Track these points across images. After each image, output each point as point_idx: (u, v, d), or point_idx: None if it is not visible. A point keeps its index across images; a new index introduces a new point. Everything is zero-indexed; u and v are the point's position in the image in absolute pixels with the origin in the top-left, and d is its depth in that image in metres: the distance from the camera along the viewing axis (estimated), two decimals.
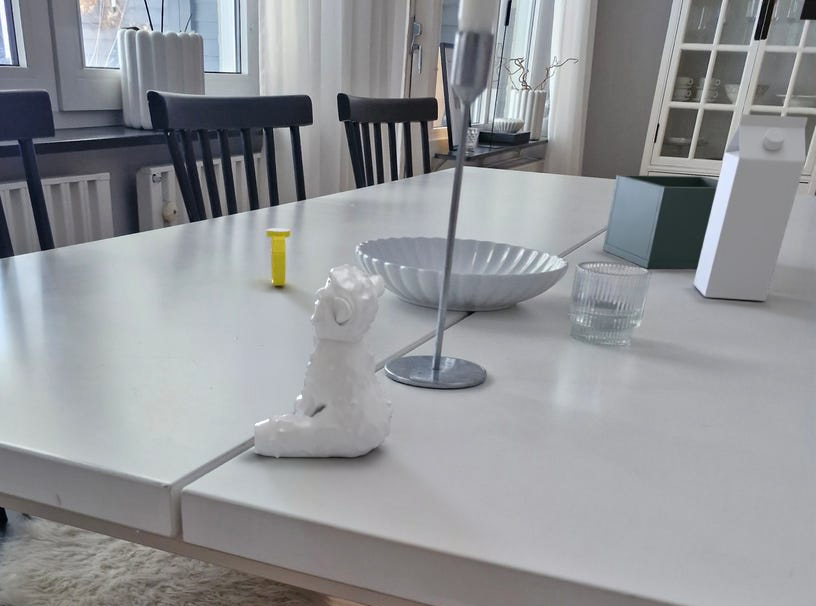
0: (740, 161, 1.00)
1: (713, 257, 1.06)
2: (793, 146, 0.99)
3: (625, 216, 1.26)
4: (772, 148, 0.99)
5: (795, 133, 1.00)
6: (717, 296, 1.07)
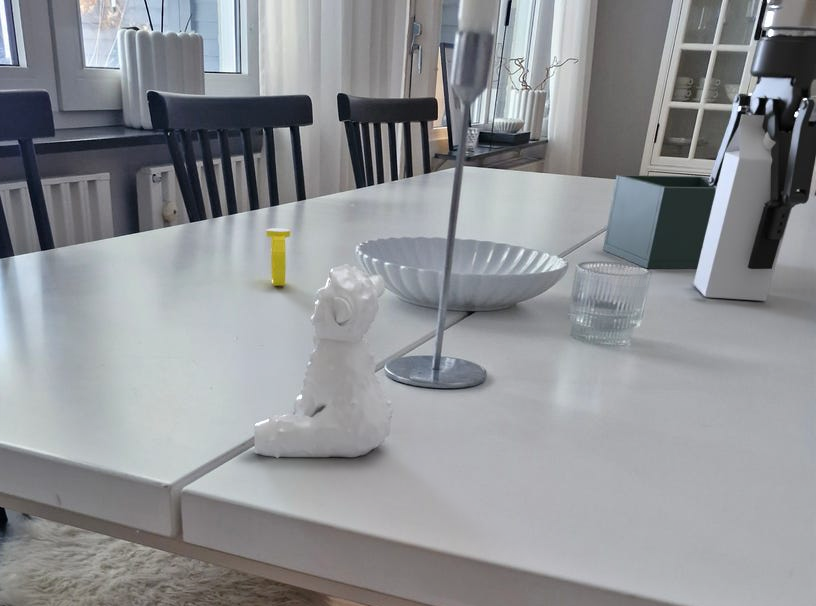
0: (740, 161, 1.00)
1: (713, 257, 1.06)
2: None
3: (625, 216, 1.26)
4: None
5: None
6: (717, 296, 1.07)
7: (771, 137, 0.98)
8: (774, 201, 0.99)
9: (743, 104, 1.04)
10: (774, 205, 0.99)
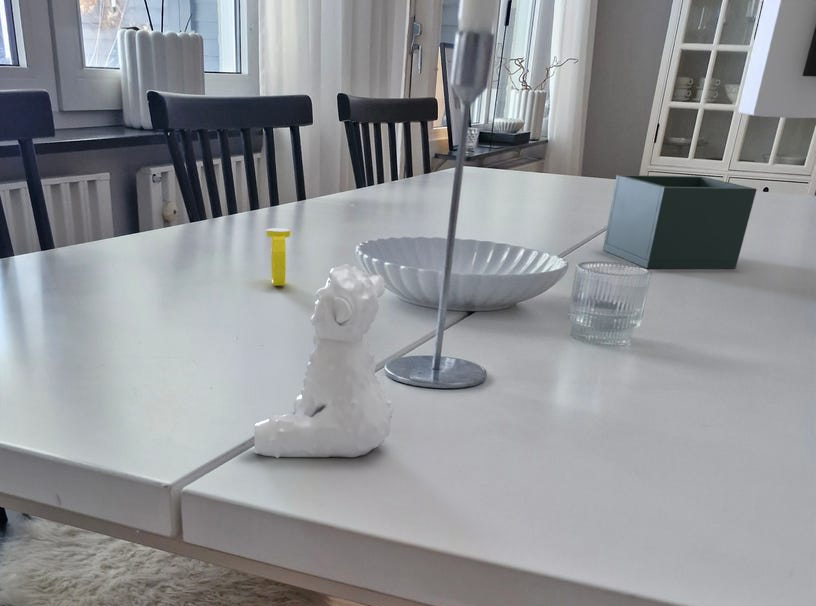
0: None
1: (763, 67, 0.95)
2: None
3: (625, 216, 1.26)
4: None
5: None
6: (767, 114, 0.97)
7: None
8: None
9: None
10: None
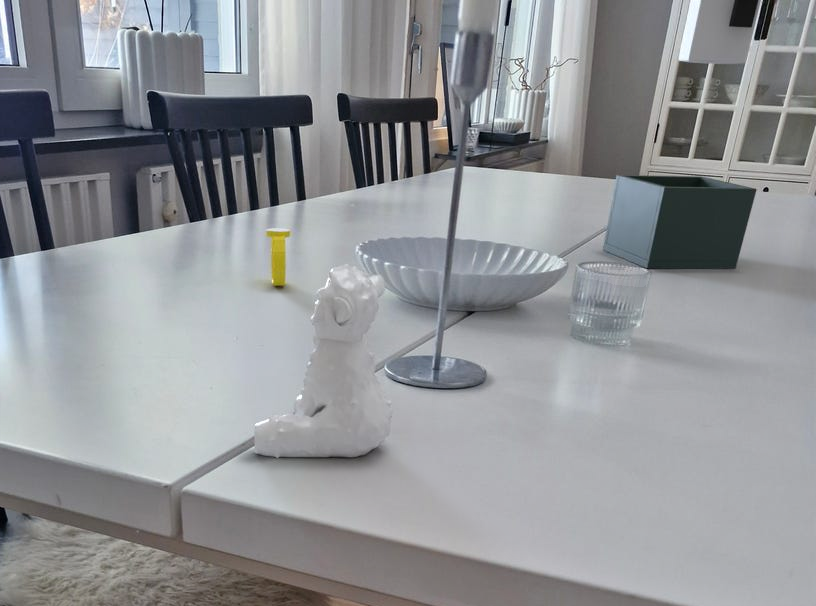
0: None
1: (696, 19, 1.11)
2: None
3: (625, 216, 1.26)
4: None
5: None
6: (700, 59, 1.13)
7: None
8: None
9: None
10: None
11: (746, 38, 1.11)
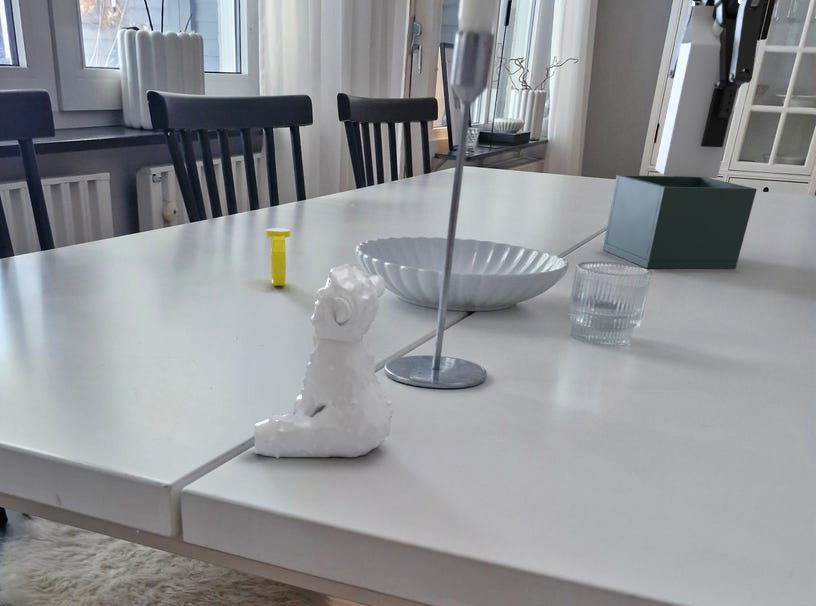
0: (692, 47, 1.12)
1: (670, 137, 1.18)
2: None
3: (625, 216, 1.26)
4: None
5: None
6: (674, 174, 1.20)
7: (719, 24, 1.11)
8: (722, 81, 1.12)
9: (697, 0, 1.17)
10: (722, 85, 1.12)
11: (717, 156, 1.18)
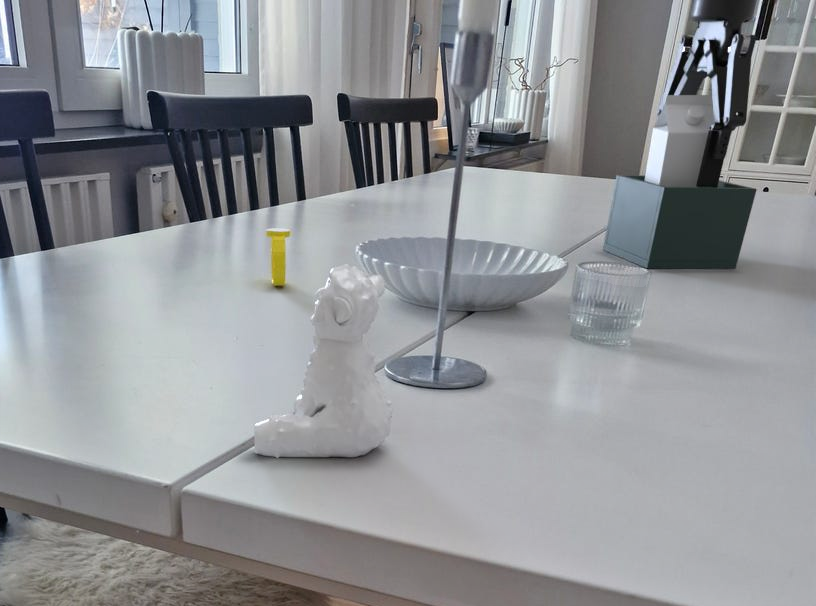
0: (669, 135, 1.18)
1: None
2: (711, 119, 1.18)
3: (625, 216, 1.26)
4: (694, 123, 1.18)
5: (711, 109, 1.18)
6: None
7: (710, 71, 1.14)
8: (717, 123, 1.13)
9: (687, 45, 1.19)
10: (717, 127, 1.14)
11: None
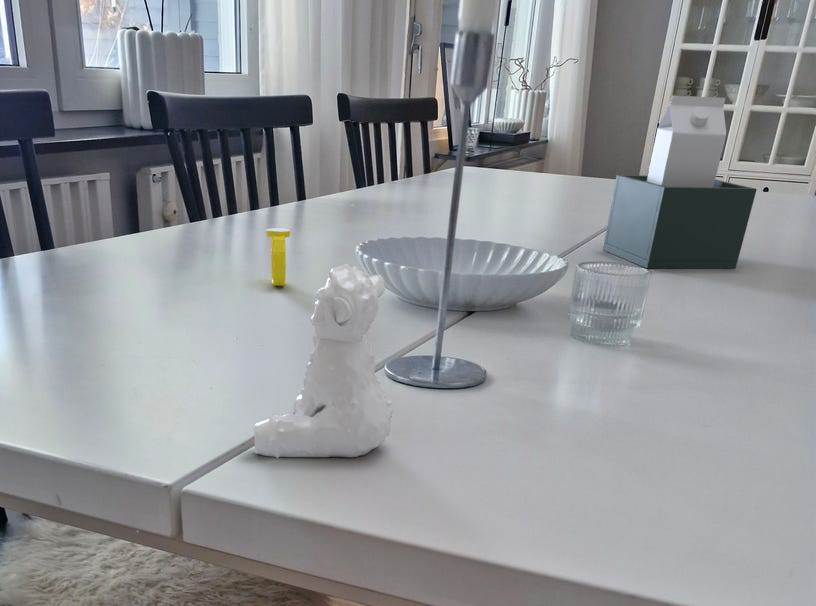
0: (674, 135, 1.18)
1: None
2: (715, 122, 1.18)
3: (625, 216, 1.26)
4: (699, 124, 1.18)
5: (716, 111, 1.19)
6: None
7: None
8: None
9: None
10: None
11: None
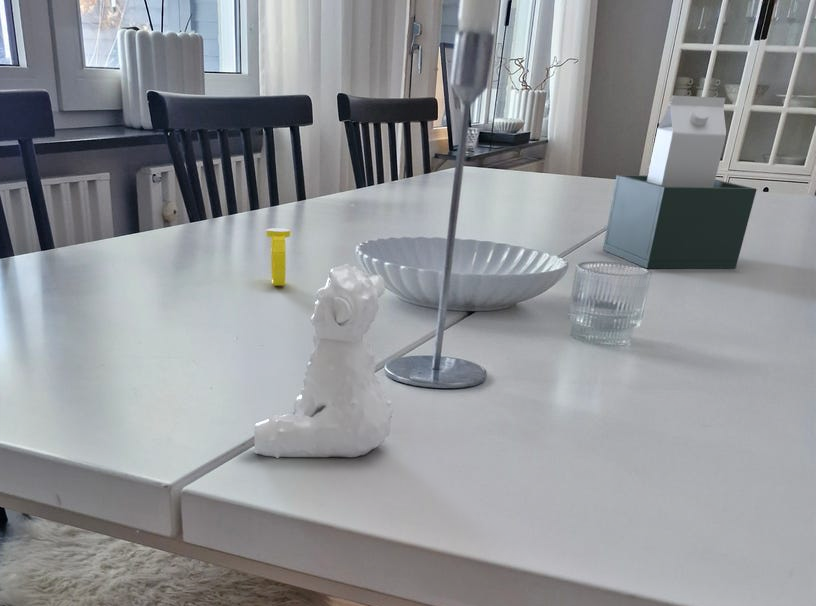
0: (674, 135, 1.18)
1: None
2: (715, 122, 1.18)
3: (625, 216, 1.26)
4: (699, 124, 1.18)
5: (716, 111, 1.19)
6: None
7: None
8: None
9: None
10: None
11: None
